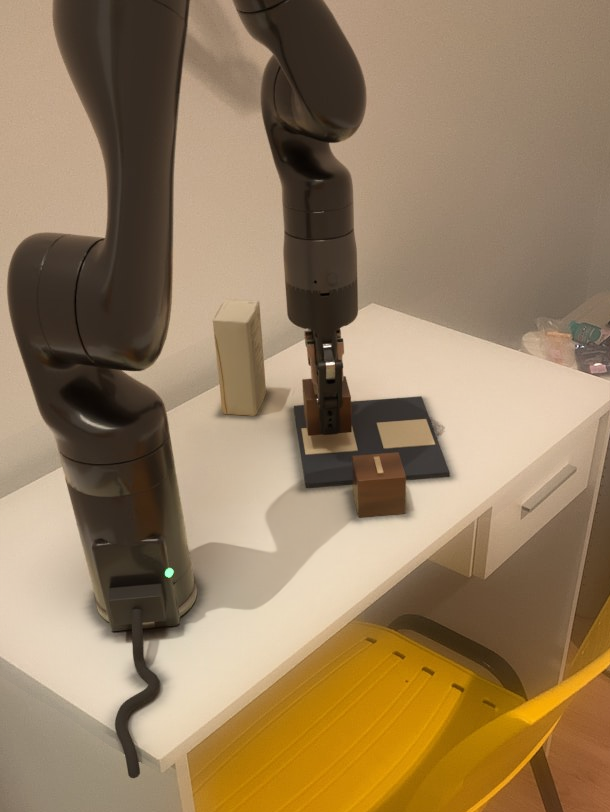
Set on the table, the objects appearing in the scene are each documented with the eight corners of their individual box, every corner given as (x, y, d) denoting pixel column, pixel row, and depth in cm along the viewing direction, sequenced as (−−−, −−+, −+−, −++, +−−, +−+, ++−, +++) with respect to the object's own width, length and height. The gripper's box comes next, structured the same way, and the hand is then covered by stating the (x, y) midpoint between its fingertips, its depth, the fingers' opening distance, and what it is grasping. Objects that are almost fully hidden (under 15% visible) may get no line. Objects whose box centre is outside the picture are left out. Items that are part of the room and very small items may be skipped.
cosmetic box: (234, 391, 122) (224, 297, 114) (268, 393, 122) (260, 299, 114) (221, 415, 118) (210, 319, 110) (257, 417, 117) (248, 321, 109)
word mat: (449, 476, 106) (449, 471, 106) (305, 488, 105) (305, 482, 105) (421, 400, 120) (421, 395, 119) (293, 409, 118) (293, 404, 118)
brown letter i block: (405, 513, 101) (406, 475, 98) (358, 517, 101) (357, 479, 98) (398, 488, 105) (398, 450, 102) (352, 491, 104) (351, 454, 101)
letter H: (351, 432, 109) (351, 394, 106) (308, 436, 108) (305, 398, 105) (346, 411, 113) (345, 374, 109) (304, 414, 112) (301, 377, 109)
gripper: (279, 250, 104) (290, 394, 115) (289, 303, 93) (300, 456, 105) (348, 246, 105) (352, 389, 116) (366, 298, 94) (368, 450, 105)
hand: (327, 420), depth 110 cm, fingers closed on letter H, 5 cm apart
